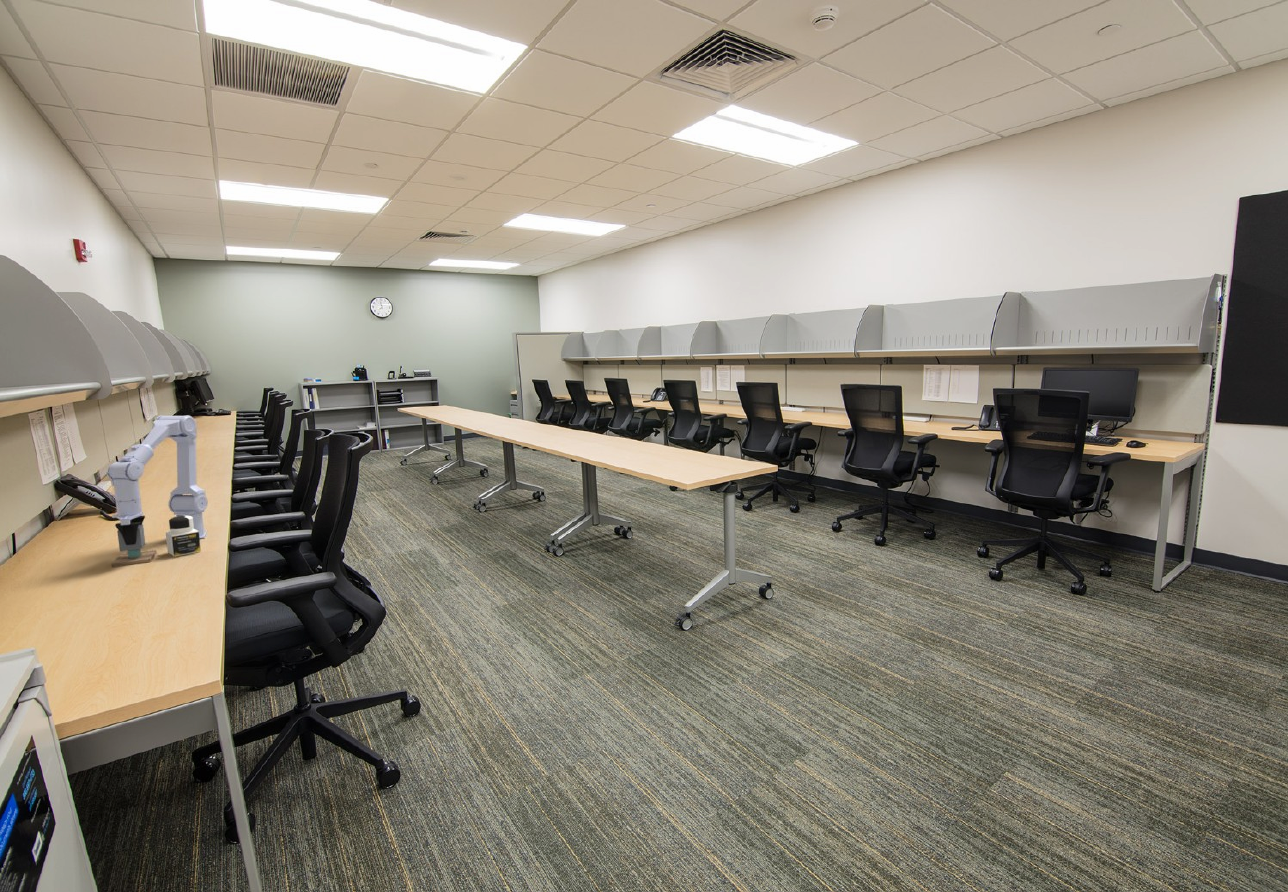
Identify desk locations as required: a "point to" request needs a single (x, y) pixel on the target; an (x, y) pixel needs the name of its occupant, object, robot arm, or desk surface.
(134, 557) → the stand
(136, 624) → the desk surface
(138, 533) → the grey block
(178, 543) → the medicine bottle
